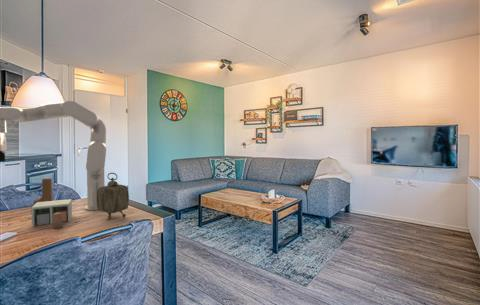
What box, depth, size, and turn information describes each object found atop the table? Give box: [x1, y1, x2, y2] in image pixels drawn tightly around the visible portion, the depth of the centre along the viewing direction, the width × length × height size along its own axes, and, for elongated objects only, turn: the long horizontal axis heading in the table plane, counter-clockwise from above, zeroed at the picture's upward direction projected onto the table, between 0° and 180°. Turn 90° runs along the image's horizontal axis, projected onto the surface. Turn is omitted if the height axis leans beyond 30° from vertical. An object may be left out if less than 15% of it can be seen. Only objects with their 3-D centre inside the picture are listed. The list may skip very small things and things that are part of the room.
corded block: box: [52, 209, 68, 230], centre depth 122 cm, size 5×17×7 cm, turn 31°
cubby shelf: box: [31, 198, 73, 228], centre depth 127 cm, size 15×12×10 cm
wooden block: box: [33, 177, 54, 206], centre depth 156 cm, size 9×4×18 cm, turn 120°
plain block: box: [36, 212, 51, 226], centre depth 124 cm, size 5×5×5 cm
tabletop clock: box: [97, 172, 130, 220], centre depth 132 cm, size 14×9×25 cm, turn 71°
